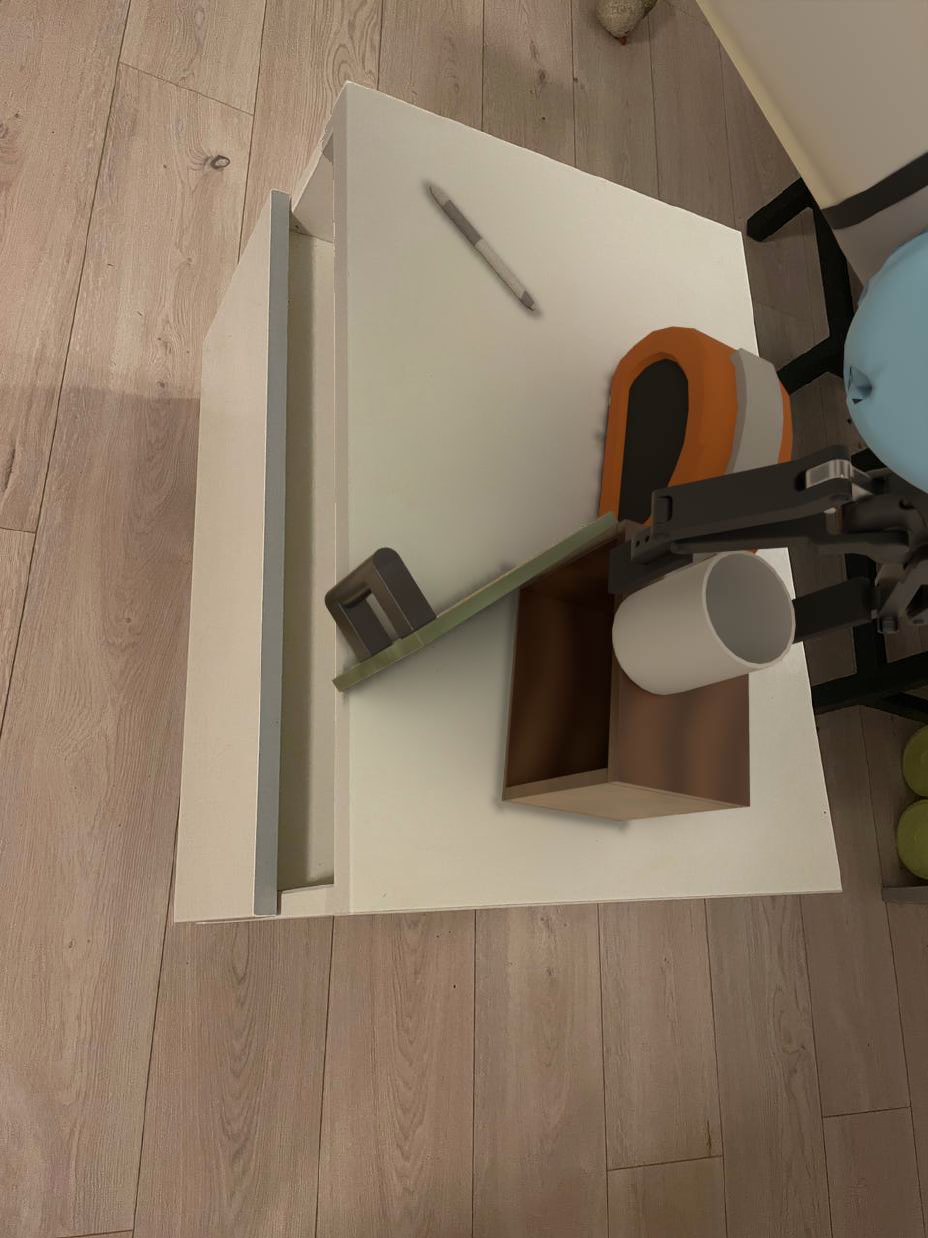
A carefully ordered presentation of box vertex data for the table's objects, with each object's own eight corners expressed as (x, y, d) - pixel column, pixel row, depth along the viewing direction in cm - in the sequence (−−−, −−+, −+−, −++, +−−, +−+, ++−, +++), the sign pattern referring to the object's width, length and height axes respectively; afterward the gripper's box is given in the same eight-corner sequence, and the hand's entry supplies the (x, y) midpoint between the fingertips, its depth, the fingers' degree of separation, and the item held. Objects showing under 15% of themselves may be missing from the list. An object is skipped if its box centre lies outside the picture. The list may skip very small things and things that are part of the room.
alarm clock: (603, 365, 87) (728, 261, 73) (678, 400, 90) (811, 308, 76) (580, 593, 79) (715, 527, 65) (663, 623, 82) (809, 566, 68)
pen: (526, 316, 84) (534, 308, 83) (422, 194, 82) (429, 183, 81) (532, 311, 85) (540, 303, 83) (429, 189, 83) (436, 179, 81)
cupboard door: (289, 615, 66) (364, 550, 53) (469, 515, 75) (570, 440, 63) (336, 693, 66) (423, 646, 54) (511, 584, 76) (619, 522, 63)
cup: (603, 681, 59) (698, 649, 51) (616, 540, 62) (706, 491, 55) (692, 708, 62) (795, 682, 54) (699, 571, 65) (796, 529, 58)
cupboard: (497, 801, 70) (616, 781, 57) (514, 581, 76) (626, 518, 63) (616, 821, 75) (750, 807, 62) (623, 612, 80) (747, 559, 68)
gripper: (838, 458, 33) (527, 609, 51) (1216, 619, 43) (846, 697, 62) (831, 285, 36) (537, 488, 54) (1190, 476, 46) (842, 592, 64)
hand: (702, 600), depth 58 cm, fingers open, 13 cm apart
